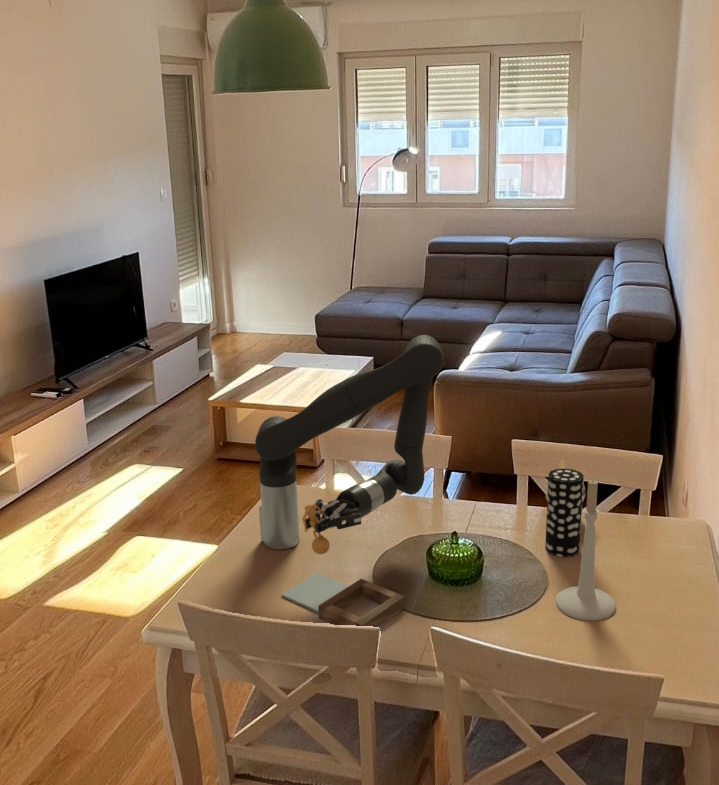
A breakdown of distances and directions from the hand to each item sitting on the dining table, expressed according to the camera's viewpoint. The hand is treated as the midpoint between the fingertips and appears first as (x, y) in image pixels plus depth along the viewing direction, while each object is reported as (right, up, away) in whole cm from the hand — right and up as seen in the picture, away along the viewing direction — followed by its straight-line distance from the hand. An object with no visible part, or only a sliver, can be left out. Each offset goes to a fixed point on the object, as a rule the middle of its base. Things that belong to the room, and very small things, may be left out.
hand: (311, 526), depth 191 cm
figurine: (+1, -6, +3) cm, 7 cm away
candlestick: (+61, -17, -1) cm, 63 cm away
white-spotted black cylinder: (+61, -9, +24) cm, 66 cm away
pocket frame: (+11, -19, -2) cm, 22 cm away
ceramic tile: (+1, -16, +6) cm, 18 cm away
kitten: (+66, -5, +39) cm, 76 cm away
